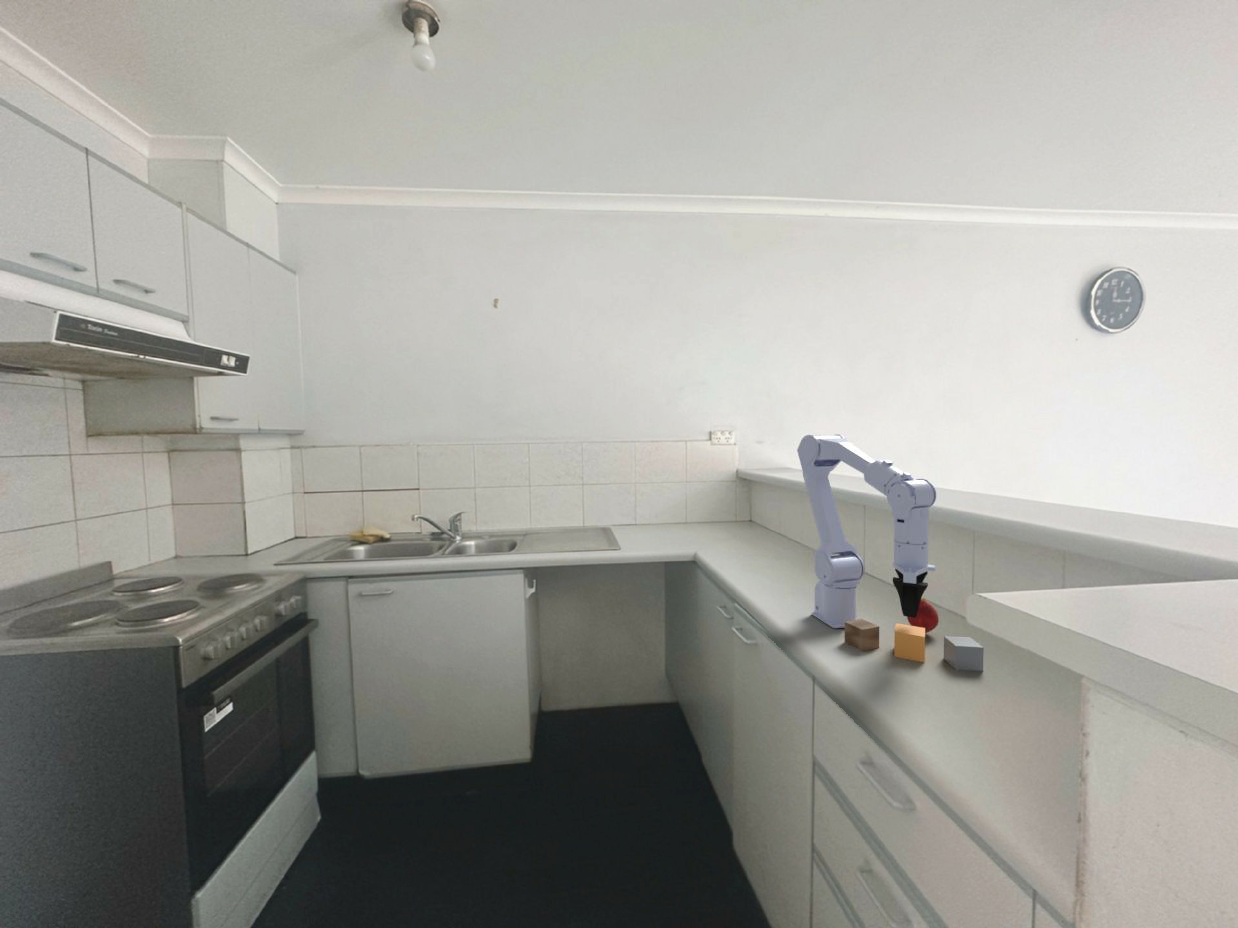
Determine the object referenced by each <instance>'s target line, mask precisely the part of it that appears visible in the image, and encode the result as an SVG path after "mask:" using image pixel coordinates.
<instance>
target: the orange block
mask: <svg viewBox="0 0 1238 928" xmlns="http://www.w3.org/2000/svg"><path fill="white" fill-rule="evenodd" d="M893 655H894V657H895V658H901V659H907V660H909V661H910V660H911V661H915V662H921V663H926V633H925V628H922V627H916V626H911V625H910V624H909V625H908V624H902V623H897V622H896V623H895V626H894V653H893Z"/></svg>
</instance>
